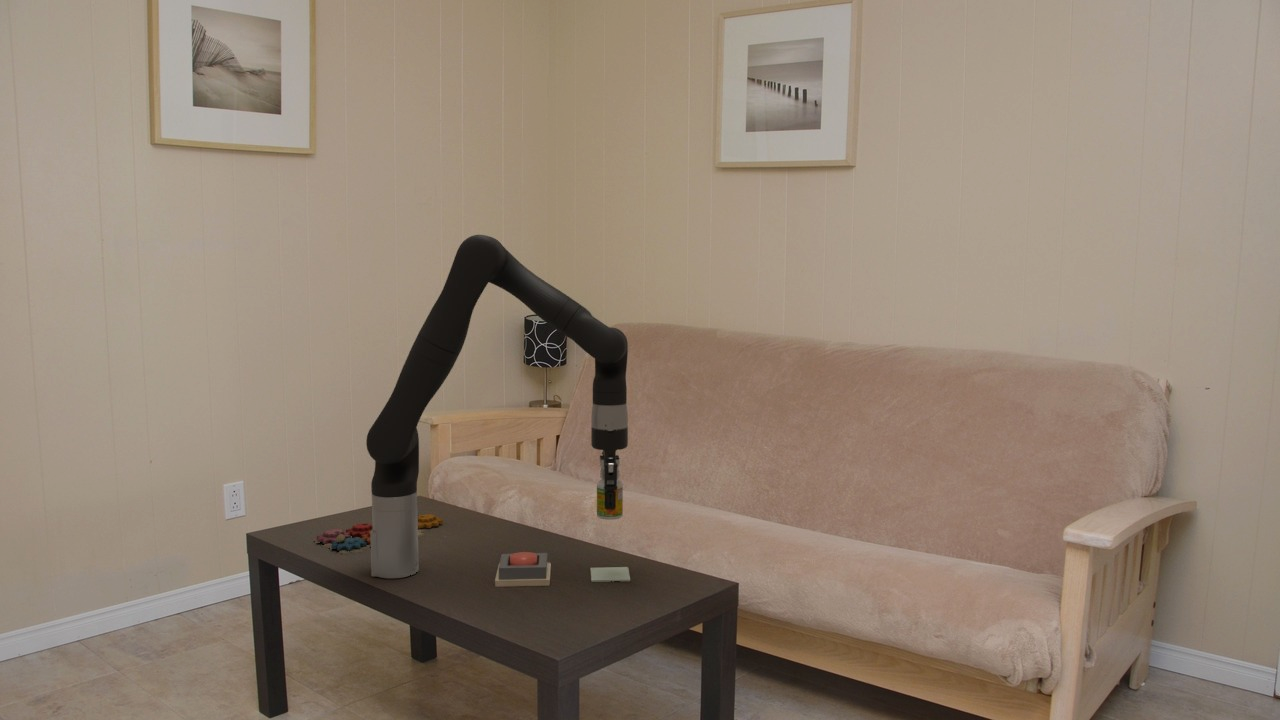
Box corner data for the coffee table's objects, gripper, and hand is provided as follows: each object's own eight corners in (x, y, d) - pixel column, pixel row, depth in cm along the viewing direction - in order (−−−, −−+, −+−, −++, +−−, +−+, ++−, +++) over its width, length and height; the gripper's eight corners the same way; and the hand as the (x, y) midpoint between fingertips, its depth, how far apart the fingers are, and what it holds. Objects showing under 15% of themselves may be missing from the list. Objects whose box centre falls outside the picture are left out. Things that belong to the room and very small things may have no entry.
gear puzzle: (425, 518, 247) (425, 503, 246) (461, 531, 235) (460, 515, 235) (310, 543, 225) (309, 526, 224) (343, 559, 213) (342, 541, 213)
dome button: (509, 574, 197) (509, 560, 196) (510, 566, 202) (510, 552, 202) (536, 574, 197) (536, 559, 197) (537, 565, 203) (537, 551, 202)
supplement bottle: (592, 518, 198) (592, 472, 197) (603, 512, 203) (603, 467, 202) (616, 521, 196) (616, 474, 195) (626, 514, 201) (626, 469, 200)
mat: (591, 582, 197) (591, 580, 197) (590, 569, 205) (590, 567, 205) (630, 581, 197) (630, 579, 197) (627, 568, 205) (627, 567, 205)
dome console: (495, 586, 194) (494, 569, 194) (499, 569, 205) (498, 552, 204) (549, 585, 195) (549, 568, 194) (550, 568, 206) (550, 551, 205)
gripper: (590, 419, 205) (590, 497, 206) (592, 431, 190) (592, 514, 192) (625, 418, 205) (625, 496, 207) (629, 430, 191) (629, 514, 193)
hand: (609, 504), depth 200 cm, fingers closed on supplement bottle, 5 cm apart
